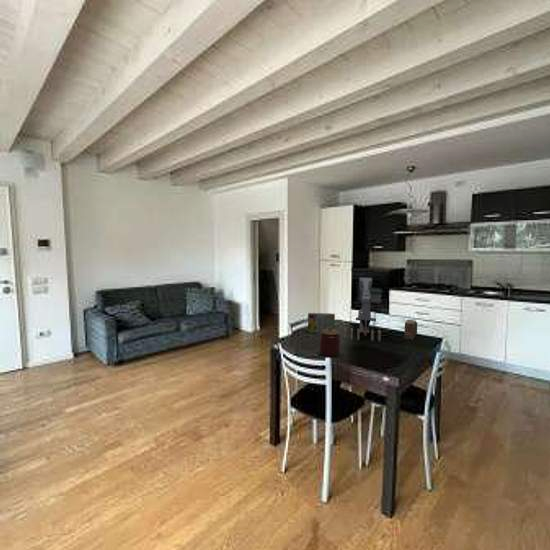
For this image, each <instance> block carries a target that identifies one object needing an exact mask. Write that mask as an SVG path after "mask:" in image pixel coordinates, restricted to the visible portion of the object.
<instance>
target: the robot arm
mask: <svg viewBox="0 0 550 550" xmlns="http://www.w3.org/2000/svg"><path fill="white" fill-rule="evenodd" d="M358 281H359V284H358V285H359V286H358V287H359V288H361V290H362V292H361V293H362V295H361V308H360V309H359V310H358V315H357V317H355V321H359V329H360V333H364V330H365V325H367V333H368V334H369V333H370V330H369V329H370V328H369V327H370V324H371V322H377V318H374V317H372V312H371V304H372V296H371V290H370V289H371V288H372V285H373V278H372V277H359V280H358Z"/></svg>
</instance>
